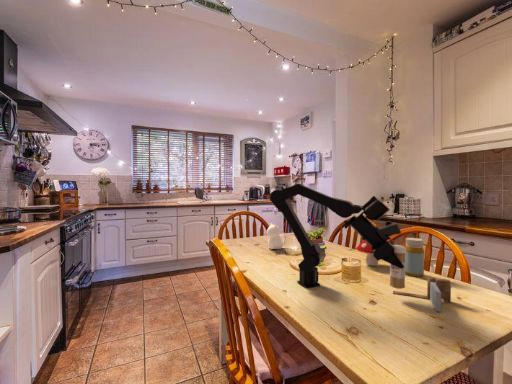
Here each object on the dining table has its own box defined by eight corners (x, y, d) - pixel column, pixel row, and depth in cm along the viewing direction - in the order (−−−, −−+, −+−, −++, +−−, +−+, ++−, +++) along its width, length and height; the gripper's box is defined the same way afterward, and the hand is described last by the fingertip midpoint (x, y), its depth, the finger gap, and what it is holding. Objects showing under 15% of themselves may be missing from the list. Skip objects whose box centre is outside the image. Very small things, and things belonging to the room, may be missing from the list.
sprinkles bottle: (386, 285, 85) (387, 245, 84) (395, 283, 87) (395, 244, 87) (399, 290, 81) (400, 248, 80) (408, 287, 83) (409, 246, 83)
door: (430, 298, 83) (430, 282, 83) (437, 300, 82) (438, 283, 82) (435, 310, 75) (436, 292, 75) (444, 312, 74) (444, 293, 74)
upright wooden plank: (448, 300, 83) (449, 279, 83) (450, 302, 81) (451, 281, 81) (392, 291, 90) (393, 272, 90) (393, 293, 88) (393, 274, 88)
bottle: (422, 272, 109) (422, 238, 108) (425, 278, 103) (425, 241, 102) (403, 270, 112) (403, 236, 111) (405, 275, 105) (405, 239, 105)
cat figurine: (263, 248, 153) (263, 223, 152) (281, 245, 158) (281, 221, 158) (271, 251, 145) (270, 225, 144) (289, 248, 150) (289, 223, 149)
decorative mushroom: (395, 269, 113) (396, 236, 113) (367, 271, 111) (367, 237, 111) (376, 260, 127) (376, 230, 127) (350, 261, 125) (350, 231, 125)
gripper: (386, 217, 76) (429, 257, 72) (384, 211, 93) (418, 244, 89) (357, 240, 80) (396, 280, 76) (360, 231, 97) (392, 263, 92)
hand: (402, 265), depth 83 cm, fingers closed on sprinkles bottle, 4 cm apart
